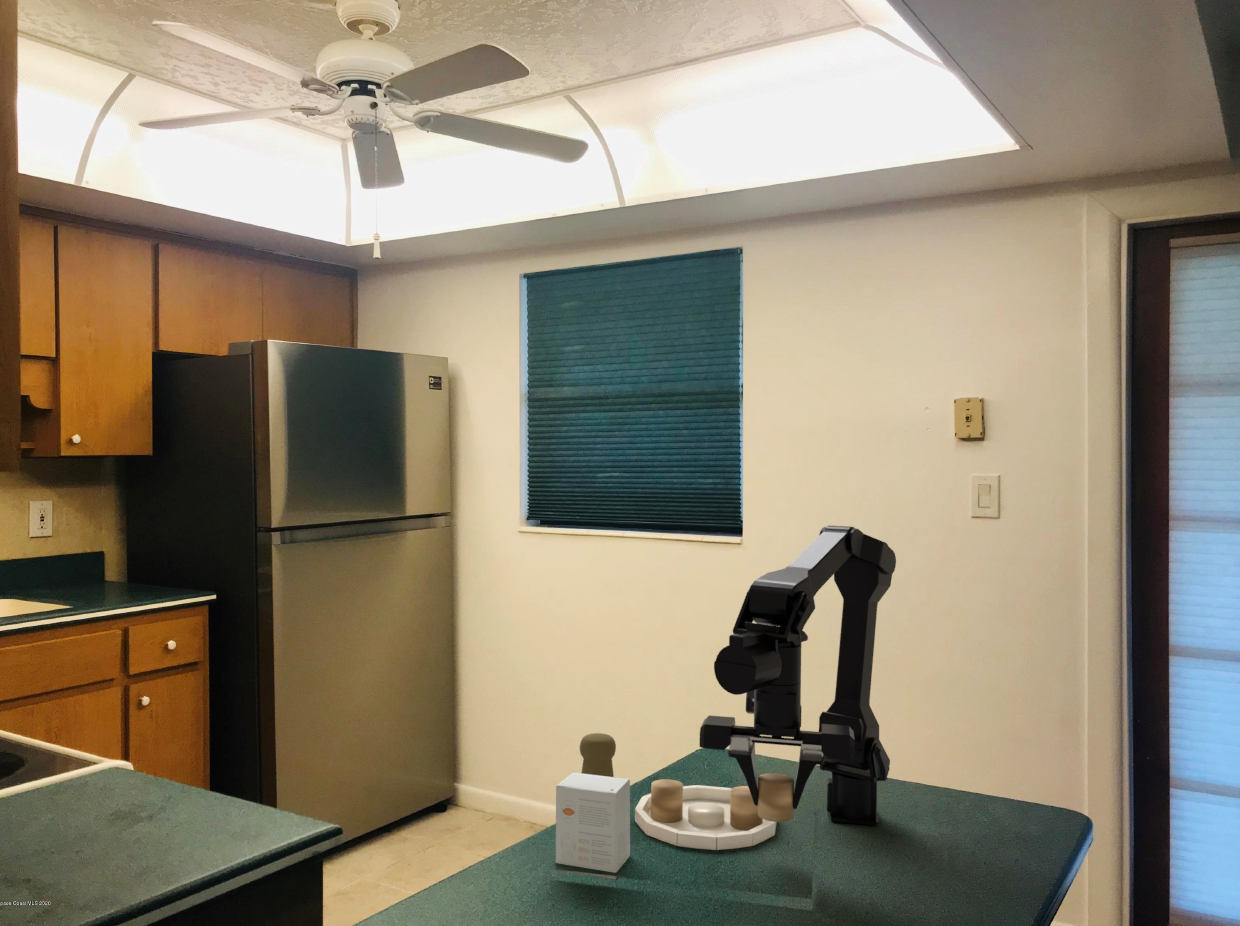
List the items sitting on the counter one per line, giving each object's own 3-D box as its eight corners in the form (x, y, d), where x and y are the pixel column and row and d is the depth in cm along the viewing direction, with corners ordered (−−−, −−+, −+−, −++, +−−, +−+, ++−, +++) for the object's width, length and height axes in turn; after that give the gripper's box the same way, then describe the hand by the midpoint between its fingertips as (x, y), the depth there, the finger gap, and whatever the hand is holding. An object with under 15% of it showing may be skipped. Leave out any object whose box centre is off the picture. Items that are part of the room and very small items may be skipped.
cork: (612, 821, 128) (614, 742, 128) (571, 817, 129) (572, 739, 129) (621, 806, 134) (622, 730, 134) (581, 802, 135) (582, 727, 135)
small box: (630, 862, 115) (632, 778, 115) (615, 881, 109) (617, 792, 109) (571, 853, 117) (572, 770, 117) (553, 870, 112) (555, 784, 112)
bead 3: (793, 810, 116) (794, 774, 116) (792, 823, 112) (793, 786, 112) (758, 807, 117) (759, 771, 117) (756, 819, 112) (757, 782, 113)
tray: (779, 810, 133) (779, 792, 133) (771, 863, 115) (772, 842, 115) (650, 798, 138) (651, 780, 138) (623, 847, 119) (624, 827, 119)
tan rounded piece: (761, 832, 122) (762, 798, 123) (728, 828, 123) (729, 795, 123) (763, 820, 127) (764, 787, 127) (731, 817, 128) (732, 784, 128)
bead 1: (684, 812, 129) (685, 780, 129) (679, 824, 125) (680, 791, 125) (653, 809, 130) (654, 777, 130) (648, 821, 126) (648, 788, 126)
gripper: (852, 672, 120) (851, 791, 120) (710, 663, 124) (708, 778, 124) (855, 691, 109) (853, 822, 109) (699, 680, 113) (697, 807, 113)
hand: (775, 806), depth 114 cm, fingers closed on bead 3, 4 cm apart
